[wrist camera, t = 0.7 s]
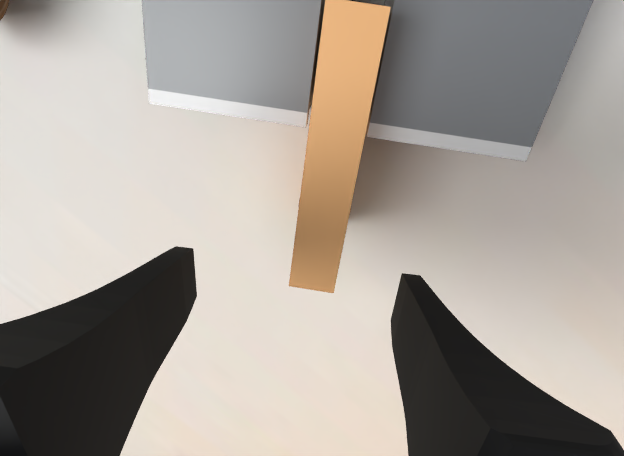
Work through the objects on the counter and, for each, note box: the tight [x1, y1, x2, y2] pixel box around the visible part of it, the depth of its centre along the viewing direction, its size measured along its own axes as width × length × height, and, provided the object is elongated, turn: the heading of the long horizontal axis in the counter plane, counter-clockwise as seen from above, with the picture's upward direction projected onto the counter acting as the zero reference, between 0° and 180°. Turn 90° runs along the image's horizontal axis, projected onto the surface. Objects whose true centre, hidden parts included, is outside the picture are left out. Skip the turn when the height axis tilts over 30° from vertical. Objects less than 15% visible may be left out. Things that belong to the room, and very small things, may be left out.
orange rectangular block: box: [289, 0, 391, 293], centre depth 17 cm, size 11×2×7 cm, turn 173°
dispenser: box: [142, 0, 593, 161], centre depth 16 cm, size 9×16×4 cm, turn 83°
